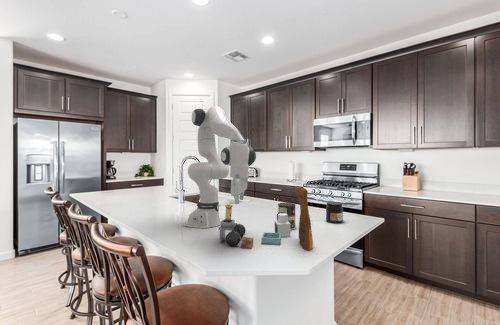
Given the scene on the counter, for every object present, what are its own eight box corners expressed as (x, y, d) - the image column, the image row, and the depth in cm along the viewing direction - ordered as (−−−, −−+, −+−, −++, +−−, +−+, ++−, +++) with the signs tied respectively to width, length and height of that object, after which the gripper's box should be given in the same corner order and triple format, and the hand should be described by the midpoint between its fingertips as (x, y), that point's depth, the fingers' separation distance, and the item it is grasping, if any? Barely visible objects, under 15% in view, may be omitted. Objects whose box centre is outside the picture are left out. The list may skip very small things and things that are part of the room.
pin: (222, 224, 126) (223, 205, 126) (226, 223, 129) (227, 204, 129) (229, 226, 124) (230, 206, 124) (232, 224, 128) (234, 205, 128)
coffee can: (295, 225, 153) (295, 202, 152) (295, 230, 143) (295, 206, 142) (278, 224, 155) (278, 202, 154) (277, 229, 145) (277, 205, 144)
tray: (261, 244, 122) (261, 237, 122) (263, 237, 131) (263, 232, 130) (280, 245, 120) (280, 238, 120) (280, 238, 129) (280, 233, 129)
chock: (241, 248, 117) (241, 239, 116) (243, 245, 121) (243, 237, 120) (251, 249, 116) (251, 240, 115) (253, 246, 120) (253, 237, 119)
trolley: (217, 246, 119) (216, 225, 119) (225, 236, 134) (225, 217, 133) (239, 247, 118) (239, 226, 117) (245, 237, 132) (245, 218, 132)
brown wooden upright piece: (300, 252, 111) (300, 189, 111) (294, 237, 130) (294, 184, 130) (315, 252, 111) (315, 189, 110) (307, 238, 130) (307, 184, 129)
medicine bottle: (274, 233, 139) (274, 211, 138) (287, 232, 139) (287, 211, 139) (277, 237, 131) (277, 214, 131) (290, 236, 132) (290, 214, 132)
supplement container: (343, 224, 155) (343, 205, 154) (325, 223, 158) (325, 204, 158) (342, 220, 165) (342, 202, 164) (326, 219, 168) (326, 201, 168)
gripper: (241, 176, 110) (240, 207, 111) (249, 171, 130) (249, 198, 131) (227, 175, 111) (227, 206, 112) (238, 171, 131) (237, 197, 132)
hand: (239, 201), depth 122 cm, fingers open, 8 cm apart
